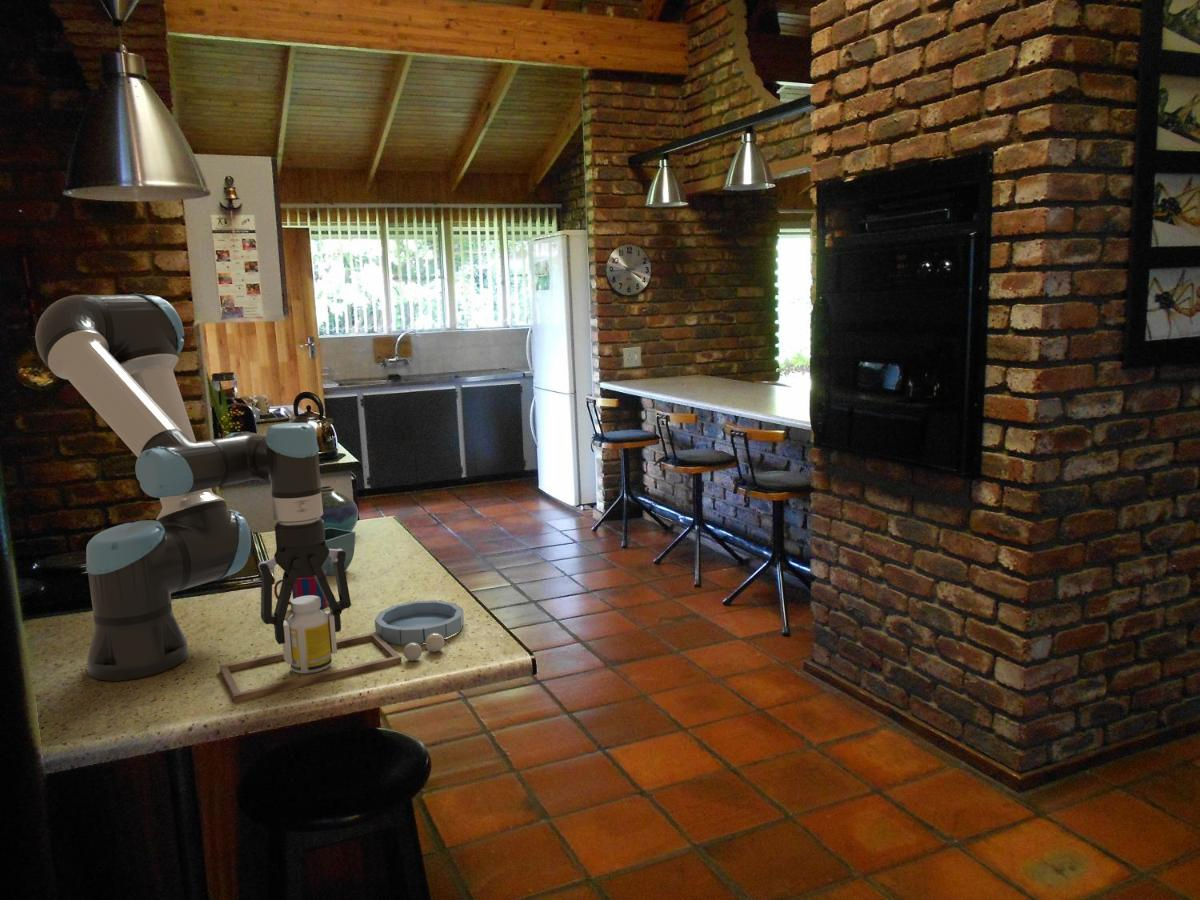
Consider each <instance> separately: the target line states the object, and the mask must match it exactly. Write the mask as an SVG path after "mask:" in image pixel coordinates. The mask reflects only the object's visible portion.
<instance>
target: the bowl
mask: <svg viewBox="0 0 1200 900" xmlns="http://www.w3.org/2000/svg"><path fill="white" fill-rule="evenodd" d="M464 618H465V617H464V609H463V608H462V607H461V606H459V604H457V603H455V602H451V601H450V602H449V601H445V600H439V599H438V600H434V599H433V600H416V601H415V600H413V601H409V602H404V603H399V604H396V605H392V606H390V607H388V608H385V609H383V610H381V611H379V612H378V614H377V615H376V617H375V619H374V629H375V632H376V633H377V634H378V635H379V636H380V637H381V638H382V639H383V640H384V641H385V642H386V643H387V644H389V643H390V645H394V644H395V645H396V646H404V645H407V644H409V643H412V642H414V643H417V644H423V643H426V639H427V637H428V636H429V635H430V634H432V633H439V634H441V635H442V636H443V638H446V637H449V636H451V635H453V634H455V633H457V632H459V631H460V630H461V629H462V626H463V627H464V623H465V619H464ZM462 630H463V629H462ZM462 630H461V631H462ZM461 631H460V632H461ZM460 632H459V633H460ZM395 645H394V646H395Z"/></svg>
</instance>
